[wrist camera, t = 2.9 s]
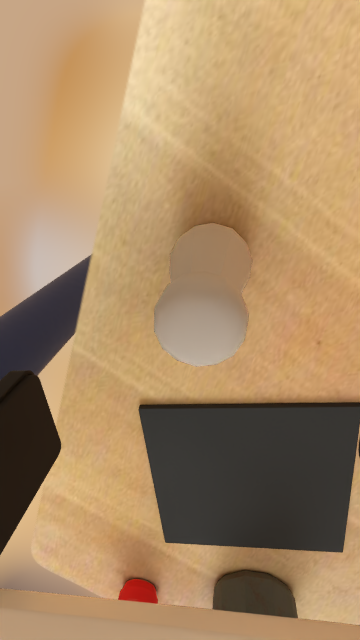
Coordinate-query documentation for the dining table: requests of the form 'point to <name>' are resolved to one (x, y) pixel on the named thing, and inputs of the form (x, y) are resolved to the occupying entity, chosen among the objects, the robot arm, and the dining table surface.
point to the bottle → (254, 595)
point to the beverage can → (138, 591)
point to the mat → (253, 473)
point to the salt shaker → (204, 296)
